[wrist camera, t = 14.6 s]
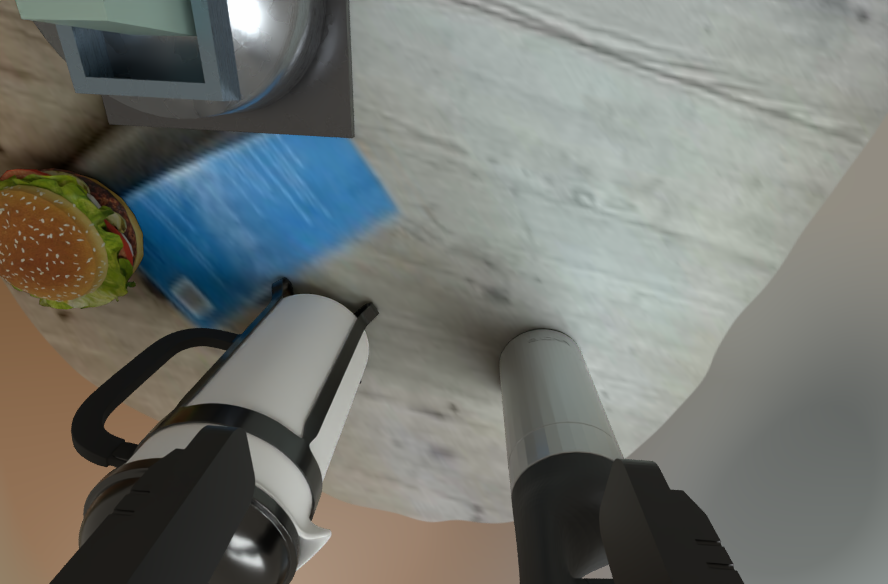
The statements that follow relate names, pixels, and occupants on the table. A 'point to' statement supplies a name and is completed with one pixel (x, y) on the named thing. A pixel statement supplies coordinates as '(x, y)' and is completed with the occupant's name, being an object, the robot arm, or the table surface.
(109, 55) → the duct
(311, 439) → the coffee press
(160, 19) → the sage green stepped block
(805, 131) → the table surface
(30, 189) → the food
